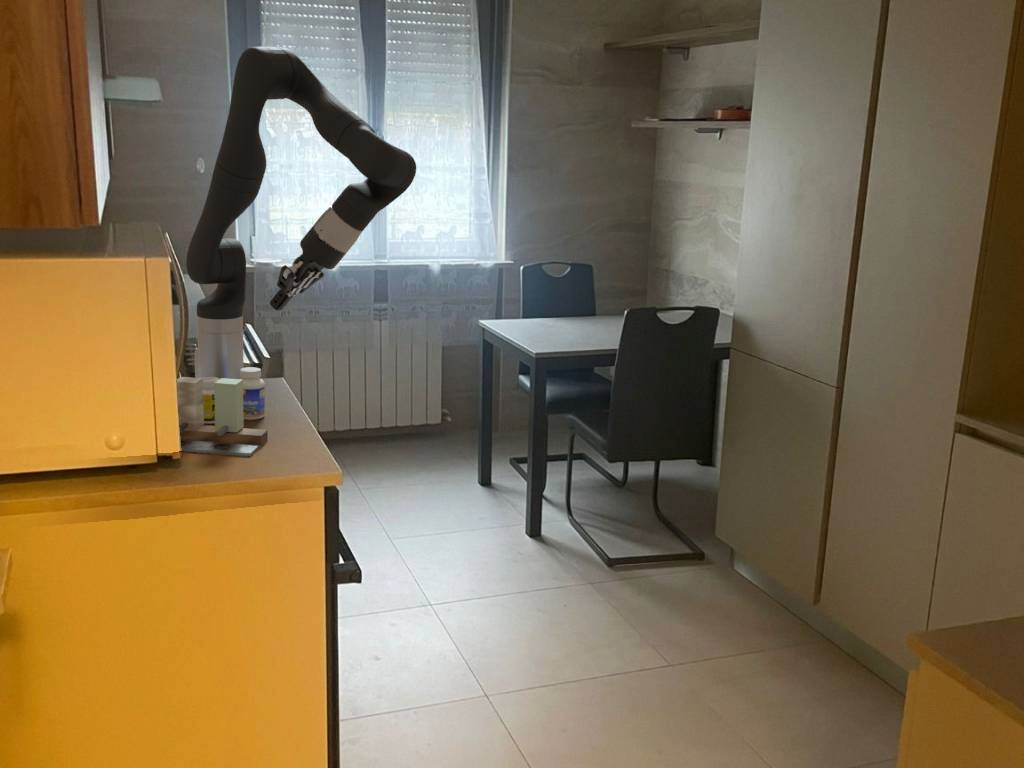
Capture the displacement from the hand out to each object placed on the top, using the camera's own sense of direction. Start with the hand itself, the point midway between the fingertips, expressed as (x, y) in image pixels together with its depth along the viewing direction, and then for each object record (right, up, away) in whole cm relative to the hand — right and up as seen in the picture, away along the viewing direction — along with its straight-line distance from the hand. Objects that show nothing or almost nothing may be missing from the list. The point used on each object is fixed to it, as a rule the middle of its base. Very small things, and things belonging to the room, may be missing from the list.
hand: (274, 307), depth 176 cm
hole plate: (-10, -26, -5) cm, 28 cm away
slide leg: (-8, -23, -2) cm, 24 cm away
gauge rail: (-10, -25, -2) cm, 27 cm away
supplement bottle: (-16, -21, +12) cm, 29 cm away
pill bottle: (-9, -21, +16) cm, 27 cm away
